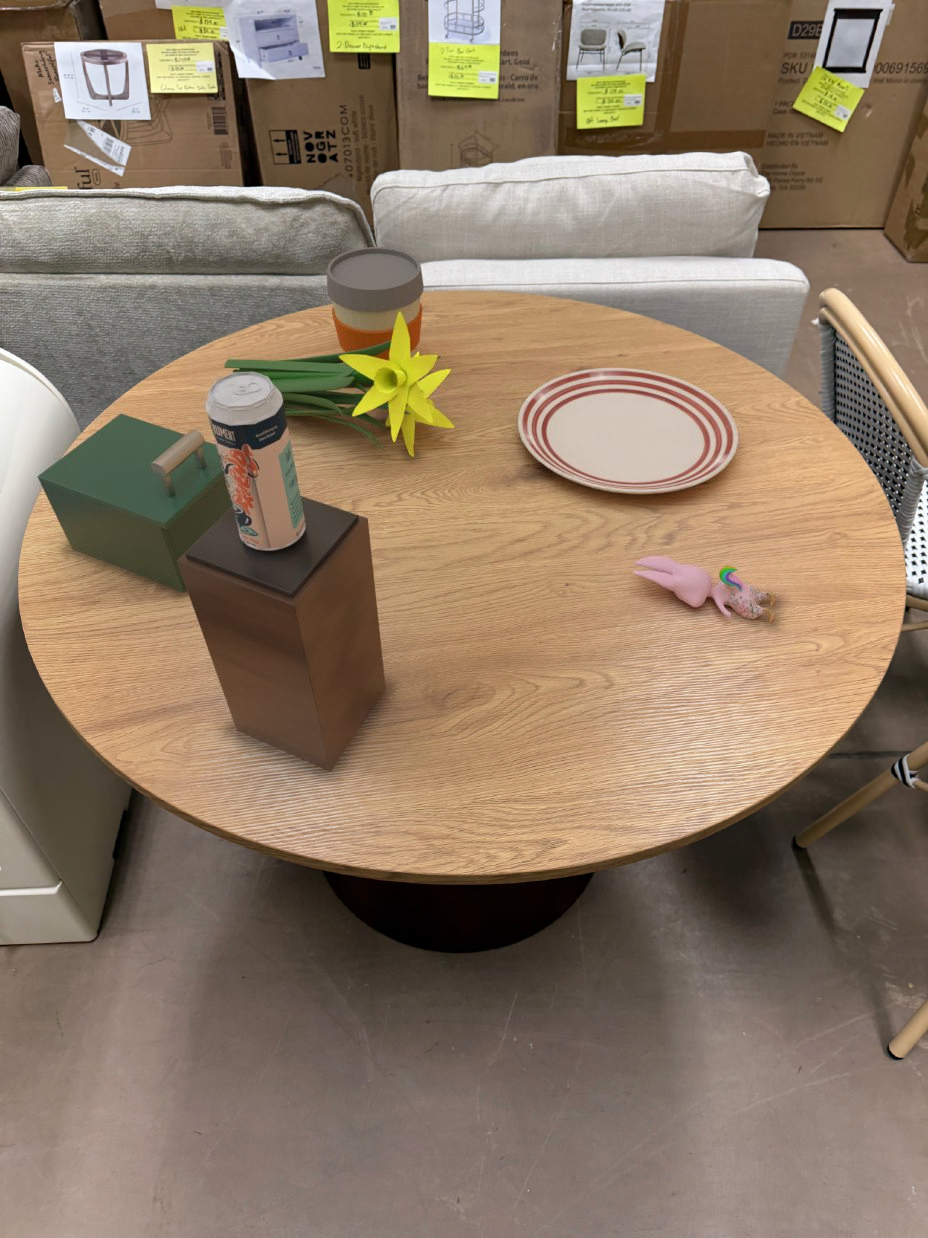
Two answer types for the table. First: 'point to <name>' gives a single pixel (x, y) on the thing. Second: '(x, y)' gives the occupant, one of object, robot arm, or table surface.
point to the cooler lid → (139, 470)
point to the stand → (292, 630)
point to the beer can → (256, 459)
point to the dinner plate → (628, 430)
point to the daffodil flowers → (359, 385)
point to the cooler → (137, 533)
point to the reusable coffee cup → (375, 296)
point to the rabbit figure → (705, 586)
